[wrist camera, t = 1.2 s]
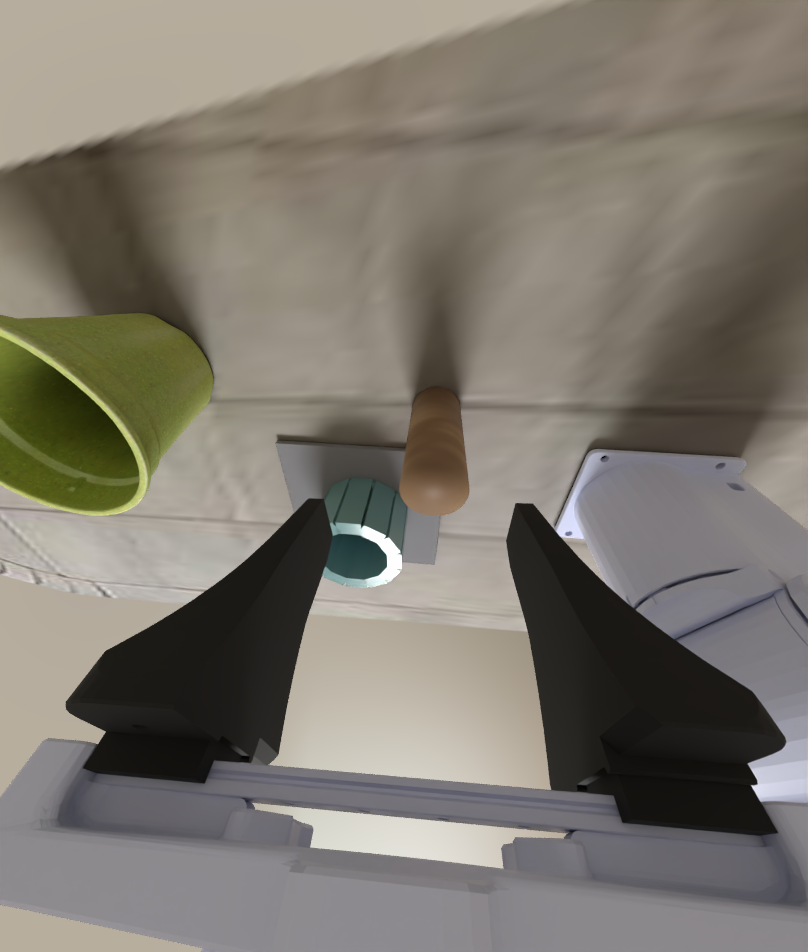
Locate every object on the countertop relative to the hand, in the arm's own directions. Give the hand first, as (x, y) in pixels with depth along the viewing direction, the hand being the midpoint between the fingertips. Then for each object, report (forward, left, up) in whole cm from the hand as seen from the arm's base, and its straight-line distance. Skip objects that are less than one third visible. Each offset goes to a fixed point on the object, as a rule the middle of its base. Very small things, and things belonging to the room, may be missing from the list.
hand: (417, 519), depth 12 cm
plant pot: (+16, -2, -10) cm, 19 cm away
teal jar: (+4, +9, -9) cm, 14 cm away
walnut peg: (-1, 0, -10) cm, 10 cm away
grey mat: (+4, +9, -10) cm, 14 cm away
